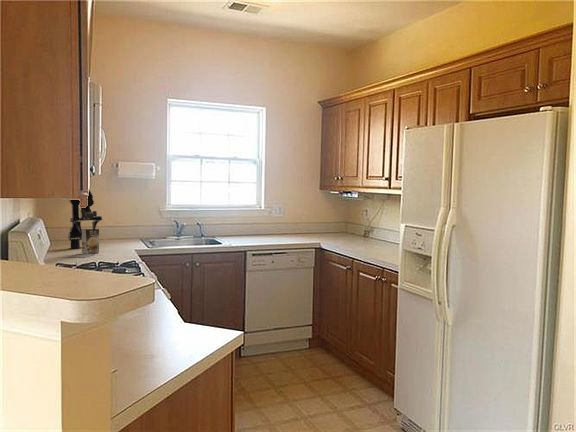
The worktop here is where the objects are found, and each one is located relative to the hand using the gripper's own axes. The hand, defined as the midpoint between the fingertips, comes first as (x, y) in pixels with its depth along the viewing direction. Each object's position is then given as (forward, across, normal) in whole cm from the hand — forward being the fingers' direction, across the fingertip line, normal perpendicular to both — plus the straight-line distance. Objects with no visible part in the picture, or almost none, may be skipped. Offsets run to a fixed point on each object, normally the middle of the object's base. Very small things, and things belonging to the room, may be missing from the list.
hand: (87, 232), depth 317 cm
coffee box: (+14, +4, +7) cm, 16 cm away
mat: (+15, -5, 0) cm, 16 cm away
